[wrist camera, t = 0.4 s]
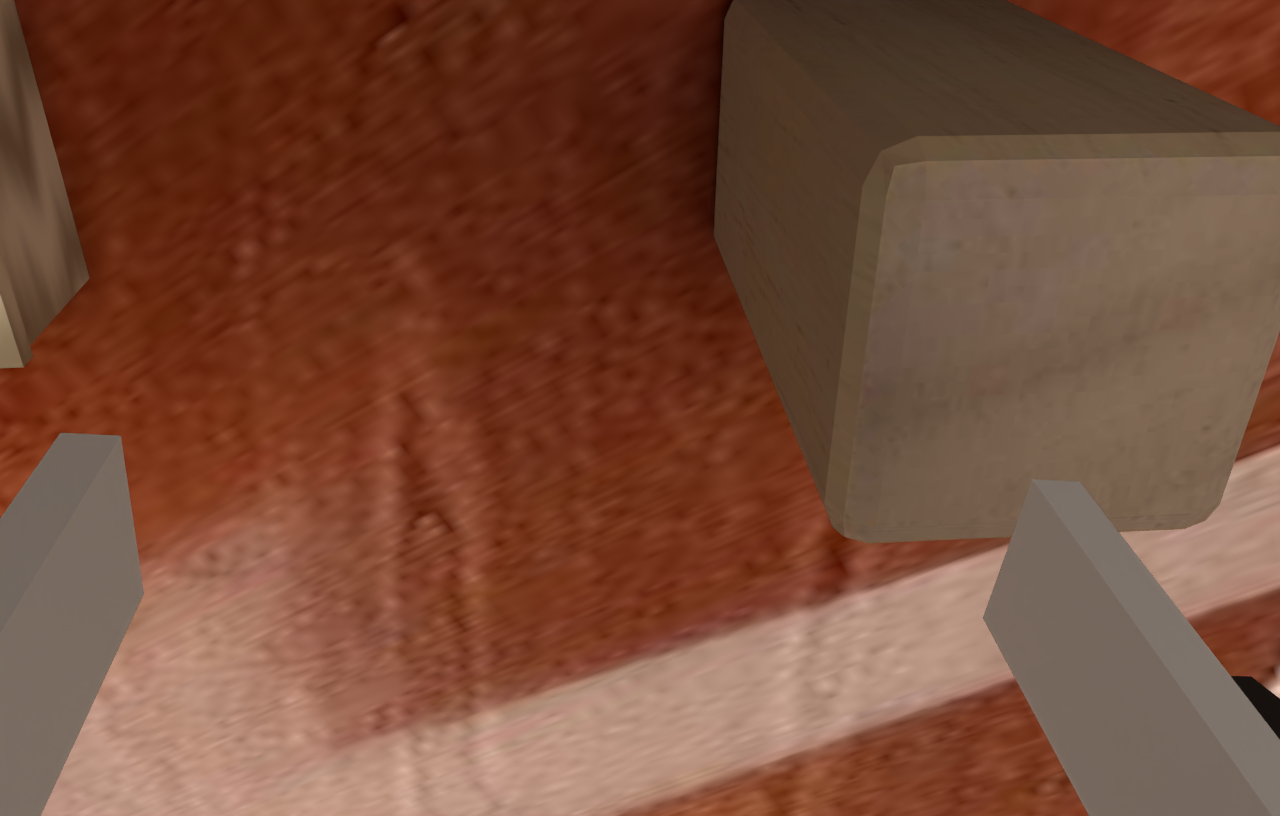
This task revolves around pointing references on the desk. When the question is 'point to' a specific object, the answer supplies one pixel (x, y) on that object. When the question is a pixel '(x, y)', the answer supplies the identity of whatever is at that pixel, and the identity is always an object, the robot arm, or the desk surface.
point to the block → (993, 262)
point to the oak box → (30, 207)
